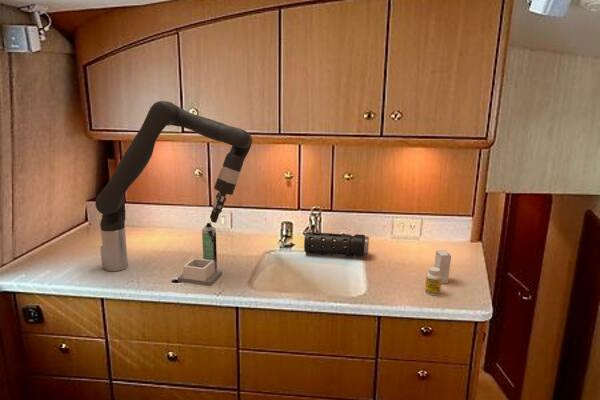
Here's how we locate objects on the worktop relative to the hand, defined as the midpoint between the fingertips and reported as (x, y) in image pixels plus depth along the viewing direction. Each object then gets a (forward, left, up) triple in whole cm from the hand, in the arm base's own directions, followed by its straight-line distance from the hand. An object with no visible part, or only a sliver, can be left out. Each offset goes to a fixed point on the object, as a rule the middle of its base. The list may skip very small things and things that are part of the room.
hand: (212, 220), depth 188 cm
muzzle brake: (+41, +39, -25) cm, 62 cm away
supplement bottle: (+83, +12, -25) cm, 87 cm away
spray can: (-6, +9, -25) cm, 27 cm away
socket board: (-6, -1, -24) cm, 25 cm away
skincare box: (+86, +24, -25) cm, 93 cm away
